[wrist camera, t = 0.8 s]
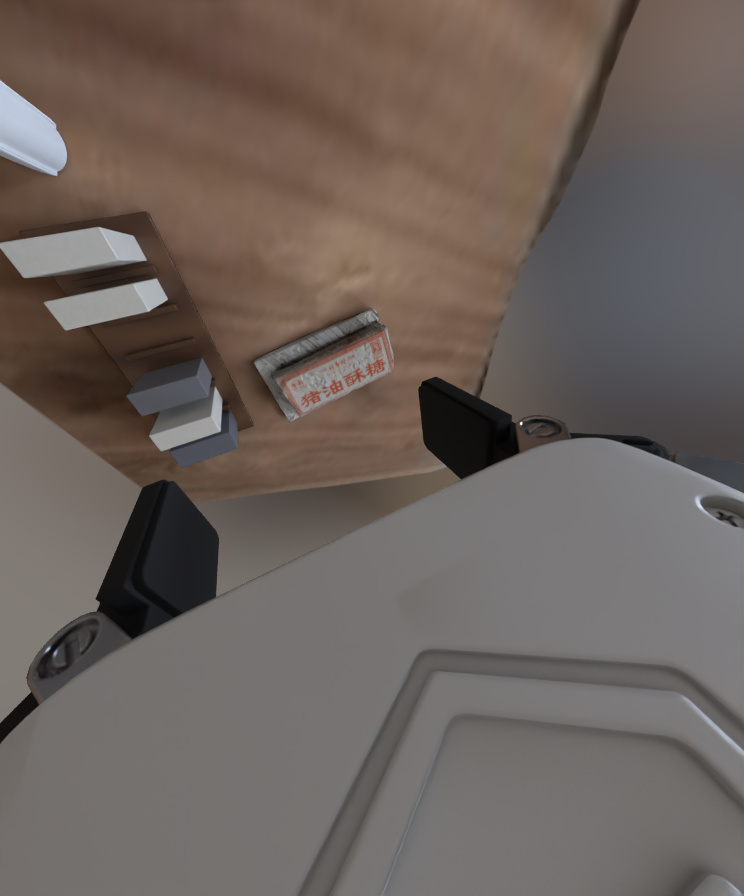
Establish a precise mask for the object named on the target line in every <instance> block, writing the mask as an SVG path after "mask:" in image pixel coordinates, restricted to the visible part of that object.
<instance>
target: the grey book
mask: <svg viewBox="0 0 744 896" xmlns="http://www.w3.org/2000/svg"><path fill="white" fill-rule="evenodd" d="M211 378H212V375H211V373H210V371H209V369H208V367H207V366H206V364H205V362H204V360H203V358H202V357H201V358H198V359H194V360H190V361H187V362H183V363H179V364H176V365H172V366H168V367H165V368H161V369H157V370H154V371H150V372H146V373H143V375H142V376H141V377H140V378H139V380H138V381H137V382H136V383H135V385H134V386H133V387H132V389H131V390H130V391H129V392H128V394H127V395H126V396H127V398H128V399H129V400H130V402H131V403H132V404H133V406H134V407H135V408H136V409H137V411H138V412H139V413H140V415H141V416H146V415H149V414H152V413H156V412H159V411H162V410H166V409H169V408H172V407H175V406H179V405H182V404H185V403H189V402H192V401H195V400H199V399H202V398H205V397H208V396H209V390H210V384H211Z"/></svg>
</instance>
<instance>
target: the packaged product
mask: <svg viewBox="0 0 744 896" xmlns="http://www.w3.org/2000/svg"><path fill="white" fill-rule="evenodd" d="M393 356H394V353H393V351H392V348H391V345H390V339H389V337H388V330H387V327H386V326H384V324H383V325H381V324H380V321H379V317H378V314H377V312H376V311H375V310H374V309H370V310H367V311H365V312H363V313H361V314H359V315H356V316H354V317H352V318H349V319H346V320H344V321H341V322H338V323H336V324H333V325H331V326H328V327H326V328H323V329H321V330H318V331H316V332H313V333H311V334H309V335H307V336H305V337H303V338H300V339H298V340H296V341H294V342H292V343H290V344H288V345H285V346H283V347H281V348H279V349H277V350H275V351H273V352H270V353H268V354H266V355H264V356H262V357H261V358H259V359H257V360H255V362H254V364H255V366H256V368H257V369H258V371H259V373H260V375H261V376H262V378H263V379H264V381H265V383H266V384H267V386H268V387H269V389H270V391H271V393H272V395H273V396H274V398H275V400H276V401H277V403H278V404H279V406H280V408H281V409H282V411H283V412H284V414H285V415H286V417H287V418H288V420H289V422H291V421H292V420H294V419H296V418H298V417H301V416H303V415H305V414H307V413H309V412H311V411H312V410H315V409H317V408H319V407H321V406H323V405H325V404H327V403H329V402H332V401H334V400H336V399H338V398H340V397H342V396H344V395H346V394H348V393H349V392H351V391H353V390H356V389H358V388H360V387H362V386H364V385H366V384H368V383H370V382H372V381H374V380H376V379H378V378H380V377H382V376H384V375H387V374H389V373H391V372H392V370H393V367H394V364H393V363H394V359H393Z"/></svg>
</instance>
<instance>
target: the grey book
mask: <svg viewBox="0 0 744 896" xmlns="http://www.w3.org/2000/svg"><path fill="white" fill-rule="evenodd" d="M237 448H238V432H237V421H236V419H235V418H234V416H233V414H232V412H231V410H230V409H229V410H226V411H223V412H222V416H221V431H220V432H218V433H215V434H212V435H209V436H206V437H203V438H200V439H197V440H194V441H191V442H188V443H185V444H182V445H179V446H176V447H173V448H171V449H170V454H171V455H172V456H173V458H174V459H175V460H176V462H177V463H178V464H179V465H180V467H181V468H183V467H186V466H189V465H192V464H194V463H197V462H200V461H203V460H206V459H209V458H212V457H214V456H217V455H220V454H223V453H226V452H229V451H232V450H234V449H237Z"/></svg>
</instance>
